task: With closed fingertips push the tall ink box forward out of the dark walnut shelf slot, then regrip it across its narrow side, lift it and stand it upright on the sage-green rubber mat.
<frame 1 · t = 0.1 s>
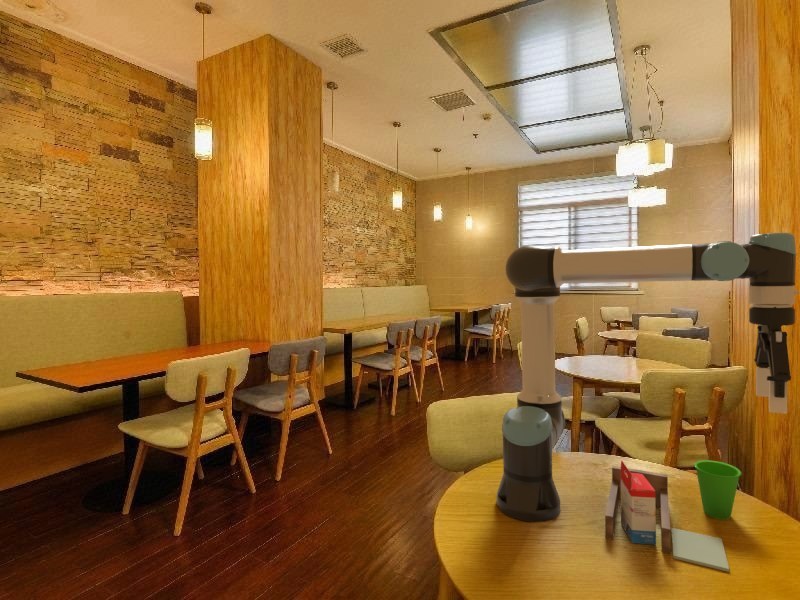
hand: (770, 403, 96), 28 cm above the table, fingers open, 13 cm apart
cup: (716, 514, 104), on the table
pad: (698, 549, 91), on the table
slot: (637, 530, 98), on the table
ink box: (637, 534, 97), on the table
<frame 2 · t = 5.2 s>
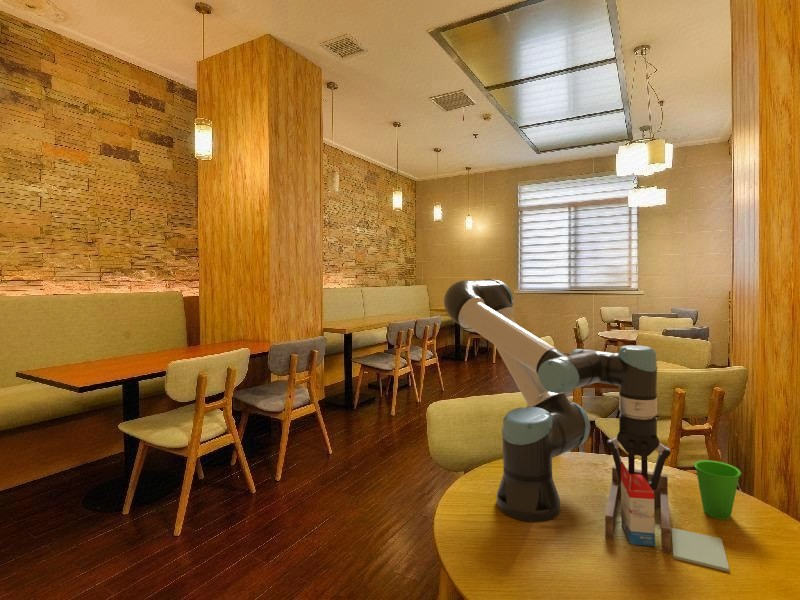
hand: (638, 515, 102), 1 cm above the table, fingers closed
ink box: (637, 535, 96), on the table, touching gripper
everything else where it was.
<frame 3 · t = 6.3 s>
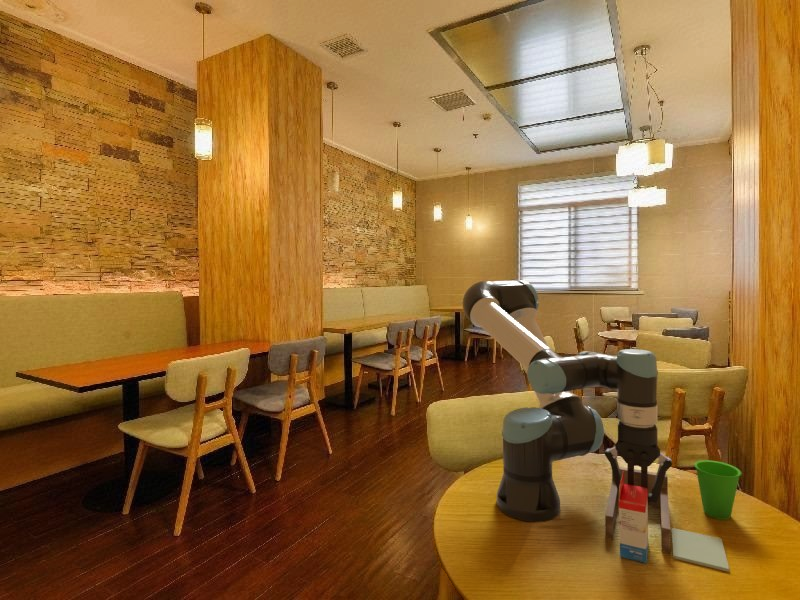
hand: (638, 529, 96), 1 cm above the table, fingers closed
ink box: (634, 550, 91), on the table, touching gripper
everything else where it was.
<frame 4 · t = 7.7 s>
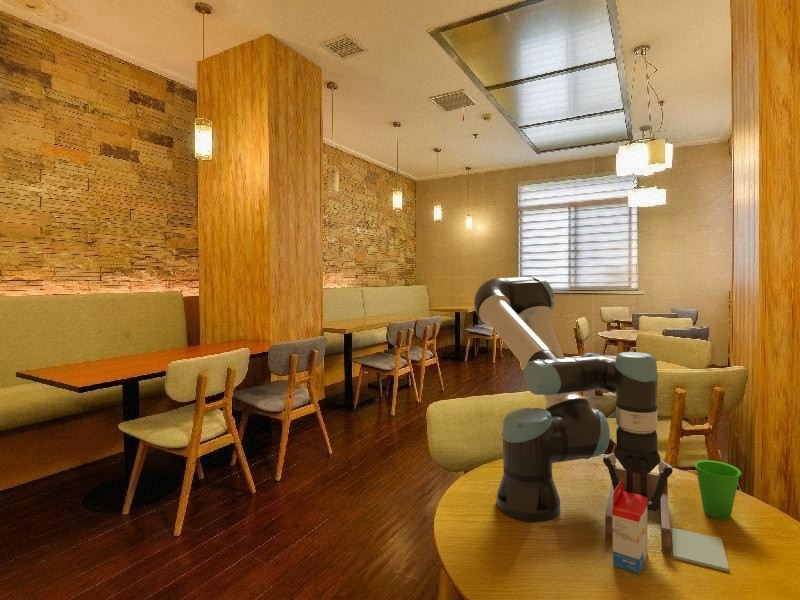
hand: (637, 538, 93), 1 cm above the table, fingers closed
ink box: (630, 560, 88), on the table, touching gripper
everything else where it was.
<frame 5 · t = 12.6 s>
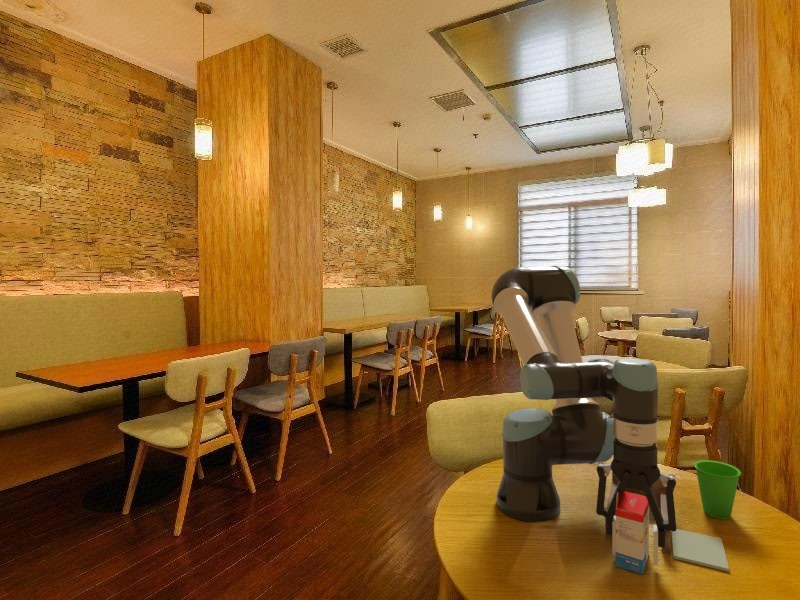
hand: (634, 555, 87), 2 cm above the table, fingers open, 6 cm apart
nothing on the table moved.
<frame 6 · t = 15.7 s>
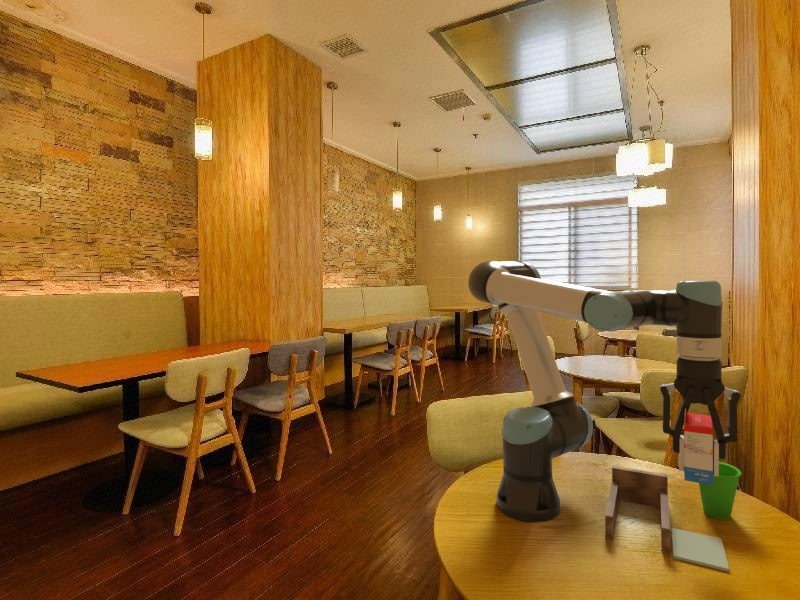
hand: (698, 470, 90), 17 cm above the table, fingers closed on ink box, 5 cm apart
ink box: (697, 476, 91), point 15 cm above the table, touching gripper
everything else where it was.
when the fingers open (3 cm above the table, at t = 18.4 s): ink box stays where it is, resting on pad.
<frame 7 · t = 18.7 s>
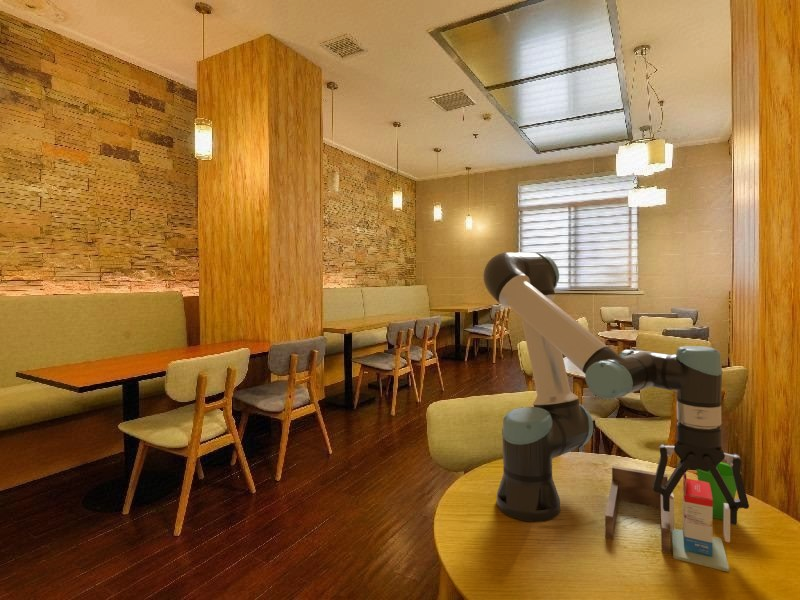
hand: (698, 532, 90), 4 cm above the table, fingers open, 9 cm apart
ink box: (696, 544, 92), resting on pad
everything else where it was.
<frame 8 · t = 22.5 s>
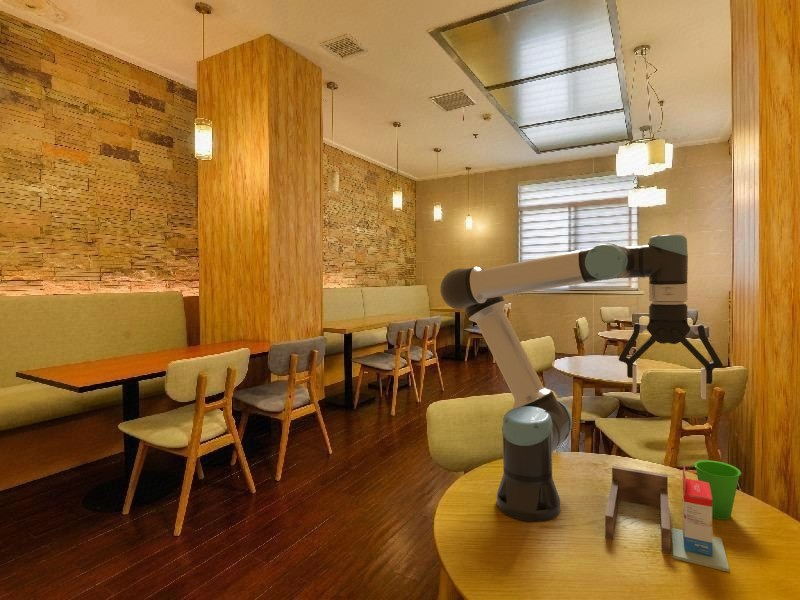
hand: (667, 394, 102), 29 cm above the table, fingers open, 13 cm apart
nothing on the table moved.
at the end: ink box 1.3 cm from the pad (horizontally); ink box tilted 0°; the gripper is holding nothing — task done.
